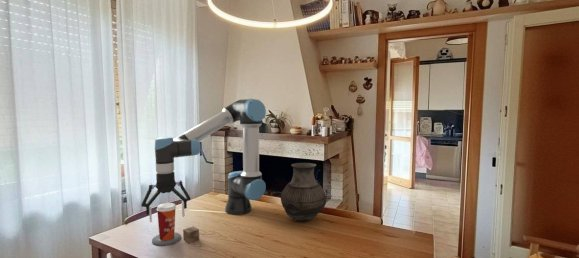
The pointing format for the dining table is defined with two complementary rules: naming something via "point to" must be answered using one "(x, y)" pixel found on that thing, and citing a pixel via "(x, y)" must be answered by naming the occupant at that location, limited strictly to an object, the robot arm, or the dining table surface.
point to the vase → (303, 193)
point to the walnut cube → (190, 234)
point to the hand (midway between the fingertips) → (167, 218)
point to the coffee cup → (166, 220)
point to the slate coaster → (159, 242)
